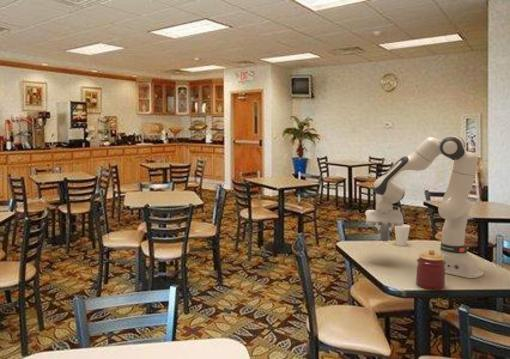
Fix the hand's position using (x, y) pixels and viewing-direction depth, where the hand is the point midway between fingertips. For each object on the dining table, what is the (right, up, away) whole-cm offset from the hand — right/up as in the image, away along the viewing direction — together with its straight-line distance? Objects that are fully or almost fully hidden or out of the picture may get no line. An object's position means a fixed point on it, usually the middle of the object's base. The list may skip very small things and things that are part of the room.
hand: (384, 231), depth 239 cm
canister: (+13, -23, -30) cm, 40 cm away
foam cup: (+25, -15, +47) cm, 55 cm away
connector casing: (0, -5, +1) cm, 5 cm away
